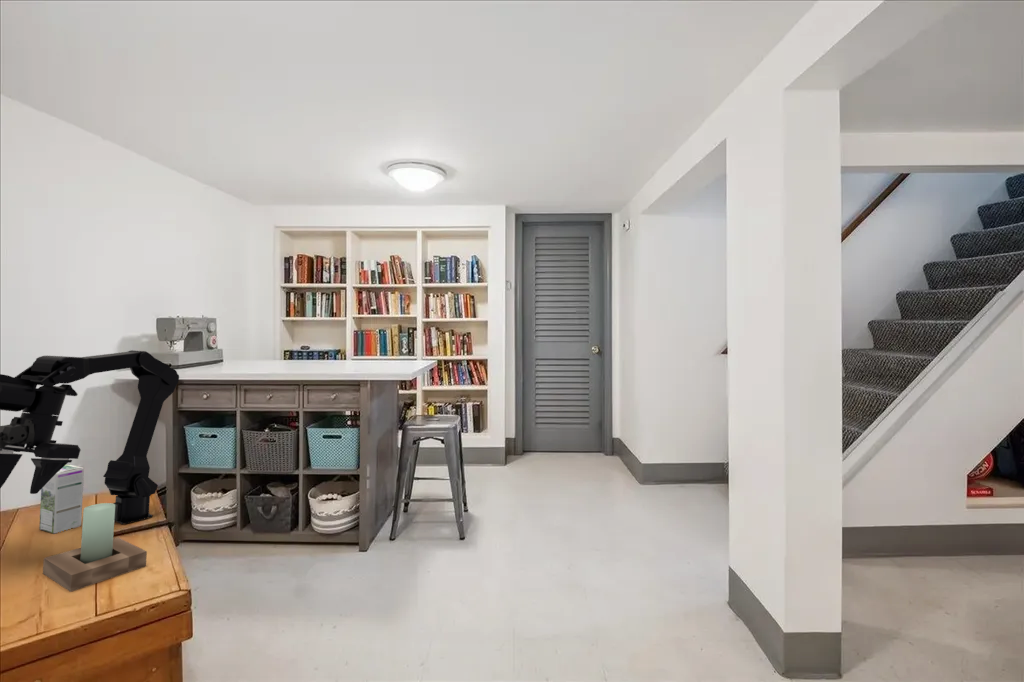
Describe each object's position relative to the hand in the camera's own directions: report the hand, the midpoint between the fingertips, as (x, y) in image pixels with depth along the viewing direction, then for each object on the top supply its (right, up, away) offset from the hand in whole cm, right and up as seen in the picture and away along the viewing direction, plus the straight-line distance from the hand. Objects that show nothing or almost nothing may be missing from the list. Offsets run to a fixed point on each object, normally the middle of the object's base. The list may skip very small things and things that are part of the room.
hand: (14, 491), depth 96 cm
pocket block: (+18, -16, -1) cm, 24 cm away
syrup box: (-8, -15, +17) cm, 24 cm away
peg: (+18, -15, -1) cm, 23 cm away
